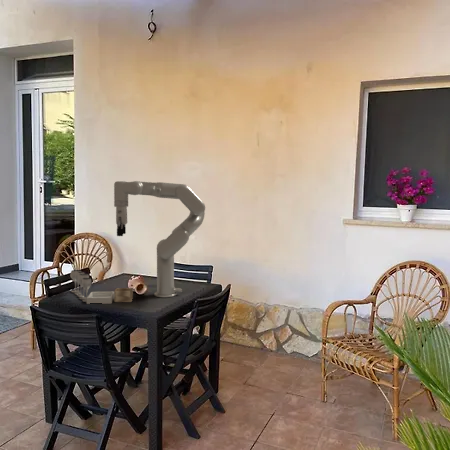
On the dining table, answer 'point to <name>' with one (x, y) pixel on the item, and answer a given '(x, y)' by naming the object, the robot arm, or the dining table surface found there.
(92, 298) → the grey square tray
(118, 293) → the small crate
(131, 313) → the dining table surface
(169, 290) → the robot arm
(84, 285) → the goblet set
